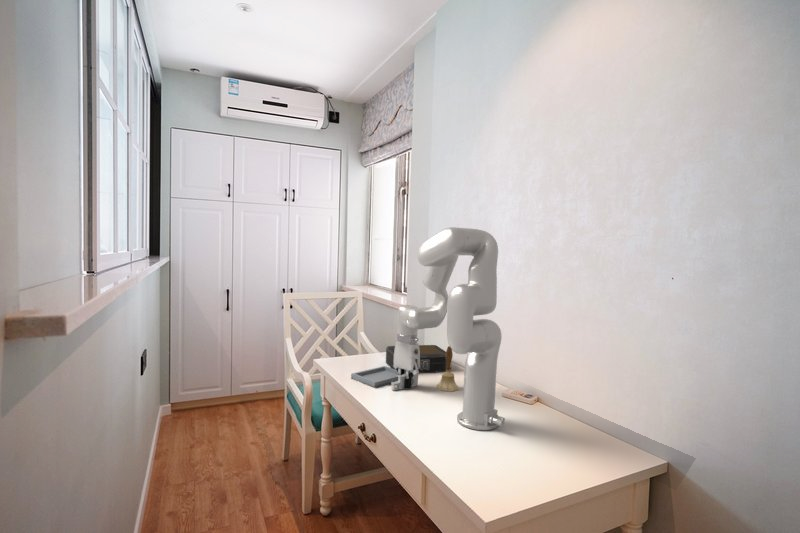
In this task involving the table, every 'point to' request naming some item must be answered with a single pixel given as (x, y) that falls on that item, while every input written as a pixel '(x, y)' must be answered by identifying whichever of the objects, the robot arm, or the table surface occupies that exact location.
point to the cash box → (424, 358)
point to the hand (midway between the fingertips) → (405, 386)
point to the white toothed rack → (401, 382)
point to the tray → (376, 376)
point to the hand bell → (448, 375)
